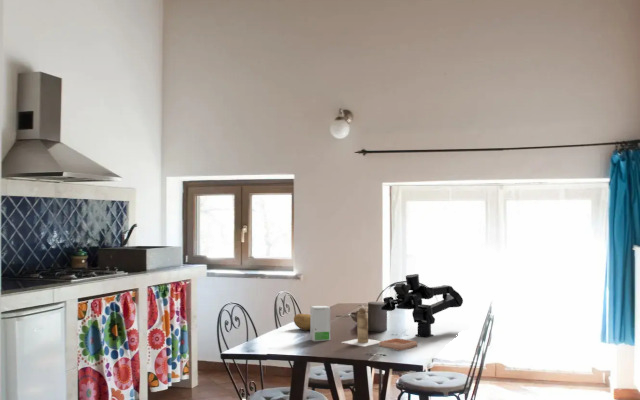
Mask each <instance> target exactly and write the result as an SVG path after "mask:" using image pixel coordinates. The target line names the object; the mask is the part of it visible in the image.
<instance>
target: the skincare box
mask: <svg viewBox="0 0 640 400" xmlns="http://www.w3.org/2000/svg"><path fill="white" fill-rule="evenodd" d="M309 308H310V315H311V317H310V330H309V331H310V333H309V335H310V336H309V339H310V340H311V341H312V342H324V341H331V307H330V306H328V305H311V306H310V307H309Z"/></svg>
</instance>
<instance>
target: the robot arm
mask: <svg viewBox="0 0 640 400" xmlns="http://www.w3.org/2000/svg"><path fill="white" fill-rule="evenodd" d="M419 276H420V275H419V273H414V274H406V275H405V282H406V283H404V282H400V283H399V282H398V283H396V284H395V285H394V287H393V291H394V292H395V293H396V298H395V299H394V297H393V296H385V297H383V302H384V305H383V306H382V307H381V309H382V310H386V311H387V312H392V311H395V310H396V309H399V310H413V311H412V313H411V314H412V315H411V316H412V318H413V321H414V323H417V333H416V334H415V335H414V336H416V337H421V338H429V337H433V336H434V335H435V334H432V325H433V324H435V321H436V318H435V317H434V315H436V314H438V313H441V312H443V311H444V310H448V309H450V308H459V307H462V305H463V304H464V299H463V298H462V295H461V294H460V293H459V292H458V291H456V290H455V288H453V286H451V285H445V284H444V285H440V286H439V285H437V286H432V287H431V286H430V287H428V286H425V285H420V277H419ZM441 295H442V300H440V301H437V302H435V303H432V304H423V300H430V299H432V298H434V296H441Z"/></svg>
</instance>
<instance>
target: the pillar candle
mask: <svg viewBox="0 0 640 400" xmlns="http://www.w3.org/2000/svg"><path fill="white" fill-rule="evenodd" d="M383 305H384V301H368V302H367V313H368V332H369V331H370V332H378V333H379V332H386V331H387V330H388V311H386V310H382V309H381V307H382V306H383Z"/></svg>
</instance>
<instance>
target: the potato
mask: <svg viewBox="0 0 640 400" xmlns="http://www.w3.org/2000/svg"><path fill="white" fill-rule="evenodd" d="M310 317H311V314H310V313H309V314H308V313H297V314H296V315H294V317H293V322H294V324H295V326H296V327H297V328H298V329H300V330H303V331H310Z"/></svg>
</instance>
